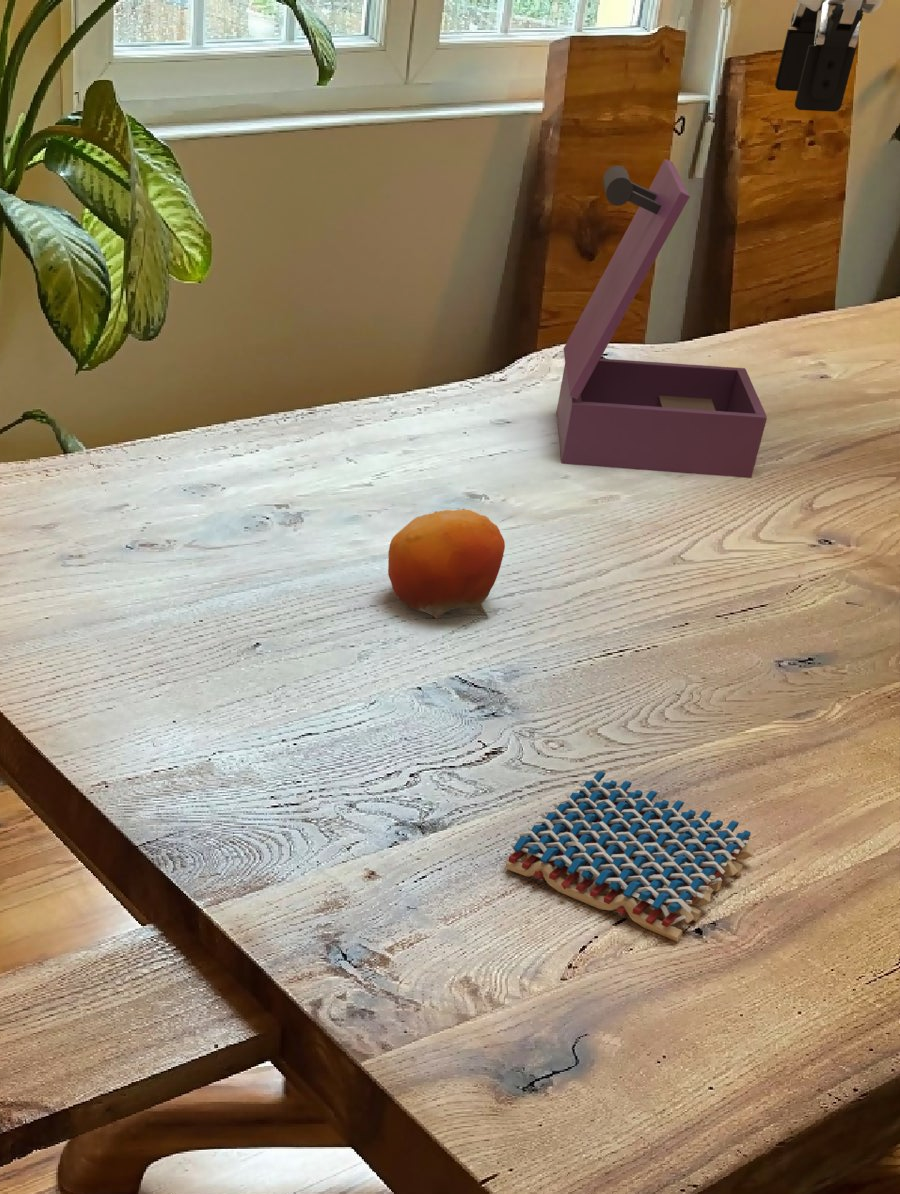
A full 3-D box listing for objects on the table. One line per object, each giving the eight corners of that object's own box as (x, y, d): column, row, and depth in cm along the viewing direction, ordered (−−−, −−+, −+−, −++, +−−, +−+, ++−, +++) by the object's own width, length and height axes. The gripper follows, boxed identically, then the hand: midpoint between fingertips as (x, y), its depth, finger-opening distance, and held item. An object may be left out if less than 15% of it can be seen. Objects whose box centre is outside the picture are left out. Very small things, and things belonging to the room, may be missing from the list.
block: (699, 450, 131) (711, 398, 128) (704, 468, 127) (717, 415, 124) (647, 446, 131) (658, 395, 128) (651, 464, 128) (663, 411, 125)
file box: (726, 445, 134) (745, 368, 130) (745, 499, 124) (767, 417, 119) (552, 432, 136) (566, 356, 132) (557, 484, 126) (572, 403, 121)
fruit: (437, 626, 100) (418, 506, 99) (381, 640, 107) (363, 529, 106) (537, 607, 103) (519, 491, 101) (475, 622, 110) (458, 514, 109)
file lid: (673, 162, 121) (616, 135, 121) (690, 196, 111) (627, 166, 110) (571, 352, 132) (517, 328, 131) (577, 399, 121) (519, 373, 121)
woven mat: (493, 872, 80) (498, 841, 78) (584, 794, 86) (591, 763, 85) (673, 949, 74) (682, 917, 73) (756, 860, 81) (766, 828, 80)
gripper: (964, -184, 94) (880, 121, 104) (905, -185, 107) (836, 85, 118) (842, -187, 95) (770, 116, 105) (799, -188, 108) (739, 81, 119)
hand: (805, 99), depth 112 cm, fingers open, 9 cm apart
